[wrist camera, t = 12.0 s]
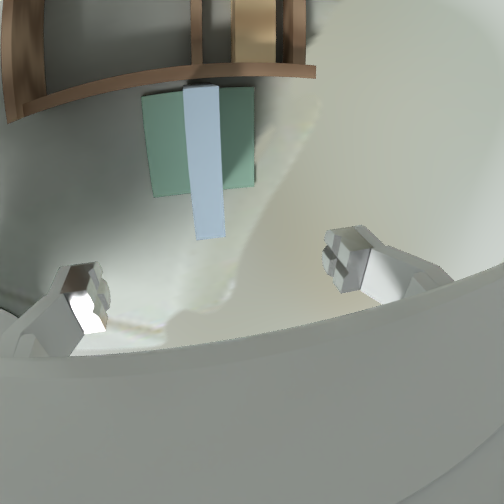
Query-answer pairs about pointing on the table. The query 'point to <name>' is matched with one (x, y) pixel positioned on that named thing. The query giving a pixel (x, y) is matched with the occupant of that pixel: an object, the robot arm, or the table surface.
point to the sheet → (204, 158)
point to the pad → (175, 148)
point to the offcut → (253, 31)
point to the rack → (34, 86)
